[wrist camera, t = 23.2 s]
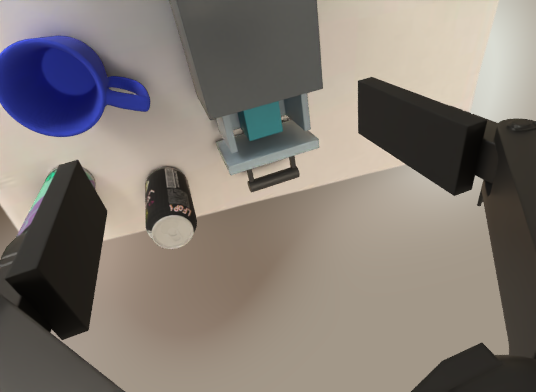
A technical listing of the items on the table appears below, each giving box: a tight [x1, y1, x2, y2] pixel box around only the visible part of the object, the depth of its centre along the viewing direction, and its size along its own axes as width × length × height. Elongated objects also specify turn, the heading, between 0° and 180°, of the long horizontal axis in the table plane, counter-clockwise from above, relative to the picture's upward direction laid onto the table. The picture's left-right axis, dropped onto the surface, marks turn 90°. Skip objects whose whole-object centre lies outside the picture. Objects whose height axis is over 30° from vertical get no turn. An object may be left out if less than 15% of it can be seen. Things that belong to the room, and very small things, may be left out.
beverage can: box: [145, 167, 197, 249], centre depth 41 cm, size 6×6×12 cm
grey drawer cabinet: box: [169, 0, 323, 120], centre depth 34 cm, size 15×13×10 cm
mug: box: [0, 36, 150, 137], centre depth 33 cm, size 8×12×10 cm
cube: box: [238, 101, 283, 141], centre depth 41 cm, size 4×4×4 cm
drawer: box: [216, 93, 319, 192], centre depth 40 cm, size 19×12×8 cm, turn 10°
